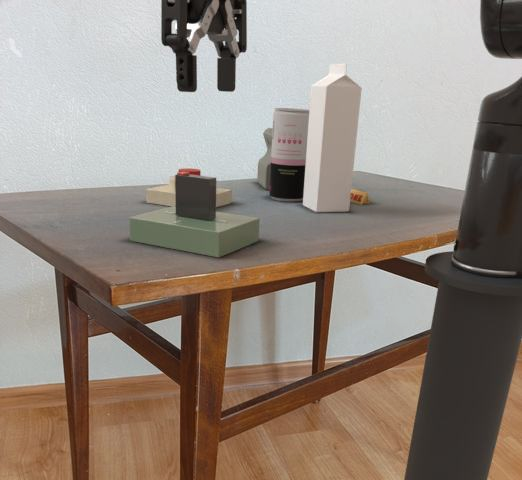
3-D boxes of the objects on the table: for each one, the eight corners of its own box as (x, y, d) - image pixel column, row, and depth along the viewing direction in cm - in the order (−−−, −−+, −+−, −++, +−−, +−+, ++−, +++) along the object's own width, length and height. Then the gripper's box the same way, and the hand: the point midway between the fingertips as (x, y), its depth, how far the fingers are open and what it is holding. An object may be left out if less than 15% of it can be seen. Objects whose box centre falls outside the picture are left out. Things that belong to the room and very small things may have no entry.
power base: (231, 203, 100) (232, 178, 98) (202, 211, 93) (202, 185, 91) (177, 195, 105) (177, 172, 103) (146, 202, 97) (145, 177, 96)
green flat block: (258, 241, 77) (259, 216, 76) (218, 257, 69) (219, 231, 67) (176, 226, 82) (175, 203, 81) (130, 241, 74) (128, 215, 73)
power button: (204, 180, 98) (204, 169, 97) (192, 183, 95) (192, 172, 94) (186, 178, 99) (186, 167, 99) (174, 180, 96) (173, 169, 96)
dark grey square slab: (215, 218, 74) (216, 175, 72) (209, 220, 73) (209, 177, 70) (182, 213, 76) (182, 171, 74) (175, 215, 75) (174, 172, 72)
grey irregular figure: (303, 194, 112) (307, 134, 107) (256, 191, 112) (258, 132, 107) (299, 181, 127) (303, 128, 122) (257, 179, 127) (259, 126, 122)
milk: (316, 212, 96) (327, 62, 87) (302, 205, 101) (311, 62, 92) (349, 211, 98) (364, 64, 89) (334, 204, 103) (346, 64, 94)
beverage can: (274, 194, 110) (278, 107, 104) (308, 197, 109) (315, 109, 102) (265, 199, 104) (269, 108, 98) (301, 203, 103) (307, 110, 97)
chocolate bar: (360, 206, 105) (361, 193, 104) (317, 194, 114) (318, 182, 113) (371, 204, 106) (372, 192, 105) (327, 193, 115) (328, 181, 114)
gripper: (212, -58, 70) (212, 90, 77) (136, -88, 59) (144, 90, 66) (268, -62, 67) (263, 93, 74) (199, -94, 56) (201, 93, 63)
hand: (207, 91), depth 70 cm, fingers open, 8 cm apart
